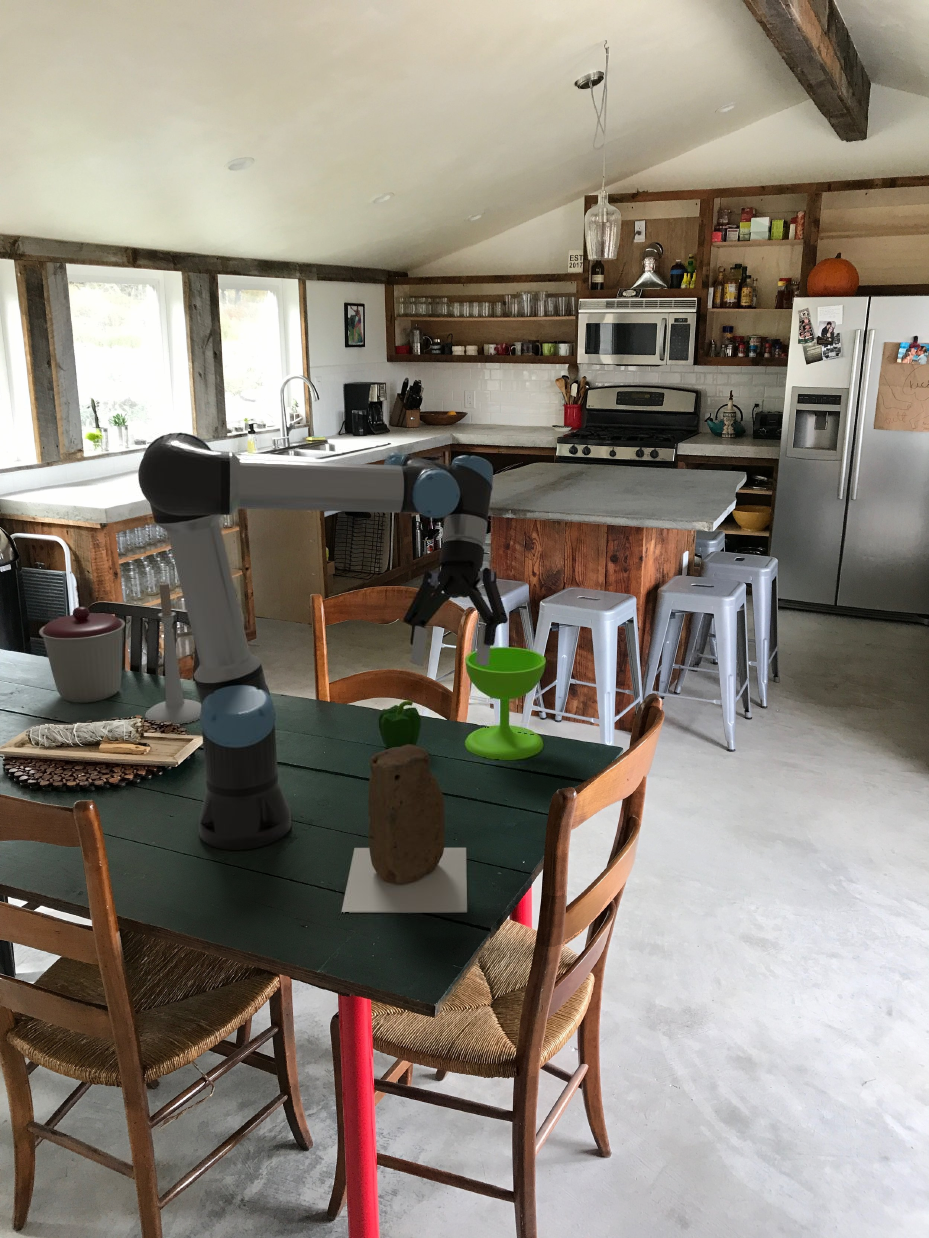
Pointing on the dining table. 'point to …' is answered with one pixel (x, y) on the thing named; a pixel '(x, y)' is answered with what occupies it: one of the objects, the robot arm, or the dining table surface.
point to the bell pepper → (400, 725)
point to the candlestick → (172, 674)
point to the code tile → (407, 887)
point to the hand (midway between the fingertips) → (448, 664)
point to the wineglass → (505, 701)
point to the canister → (85, 654)
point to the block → (404, 815)
